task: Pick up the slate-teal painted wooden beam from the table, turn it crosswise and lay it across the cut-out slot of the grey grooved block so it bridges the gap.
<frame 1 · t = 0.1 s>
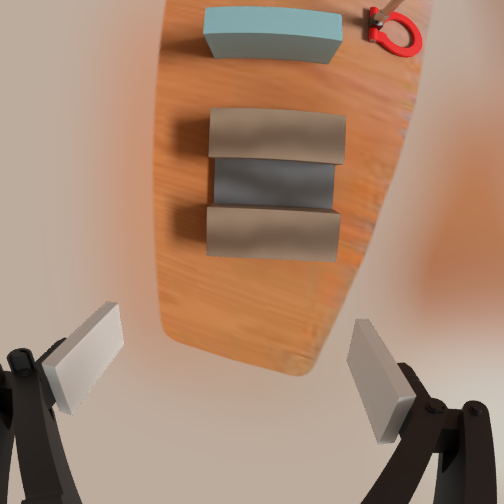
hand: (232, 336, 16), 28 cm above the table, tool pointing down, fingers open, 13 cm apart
tow hook: (394, 34, 34), on the table
grey grooved block: (274, 182, 41), on the table
teal beam: (272, 47, 36), on the table
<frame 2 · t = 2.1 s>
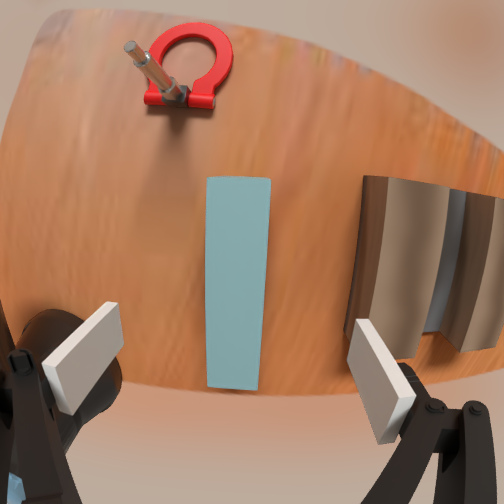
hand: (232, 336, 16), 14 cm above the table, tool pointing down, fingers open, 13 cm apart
tow hook: (188, 65, 25), on the table
grey grooved block: (430, 261, 29), on the table
teal beam: (242, 261, 29), on the table
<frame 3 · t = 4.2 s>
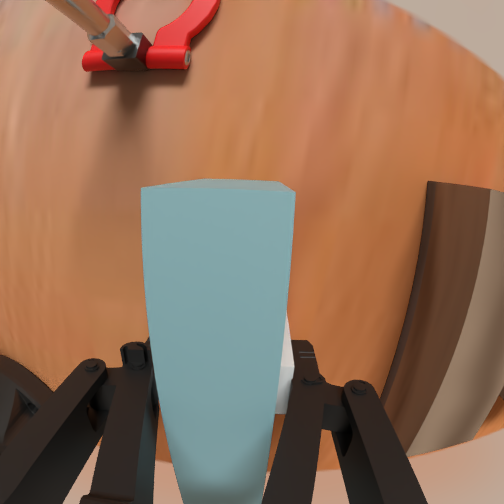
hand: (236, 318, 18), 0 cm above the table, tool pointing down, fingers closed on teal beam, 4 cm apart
tow hook: (154, 11, 14), on the table
grey grooved block: (498, 304, 17), on the table
teal beam: (236, 316, 18), on the table, touching gripper
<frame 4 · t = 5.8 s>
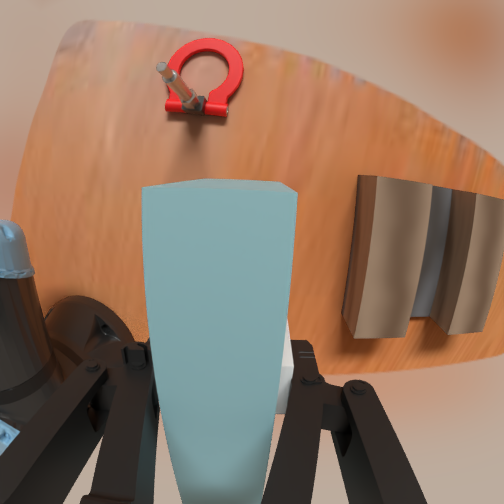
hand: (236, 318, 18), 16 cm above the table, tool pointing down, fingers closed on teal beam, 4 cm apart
tow hook: (204, 76, 29), on the table
grey grooved block: (419, 252, 33), on the table
teal beam: (236, 316, 18), point 16 cm above the table, touching gripper
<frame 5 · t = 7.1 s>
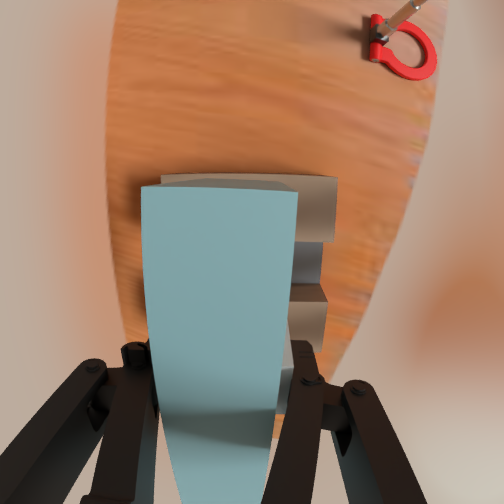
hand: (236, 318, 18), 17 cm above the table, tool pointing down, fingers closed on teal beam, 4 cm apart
tow hook: (402, 49, 27), on the table
grey grooved block: (249, 253, 35), on the table
teal beam: (236, 316, 18), point 17 cm above the table, touching gripper
when the fingers open (8 cm above the table, at t = 9.6 s): teal beam drops 1 cm, resting on grey grooved block.
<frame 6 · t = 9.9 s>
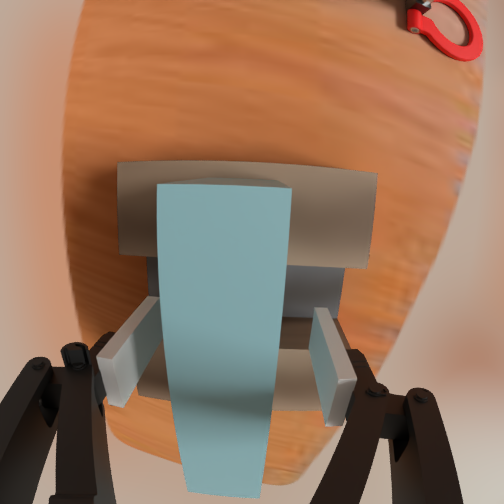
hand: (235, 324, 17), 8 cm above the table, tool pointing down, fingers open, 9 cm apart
tow hook: (443, 23, 19), on the table
grey grooved block: (244, 276, 25), on the table
teal beam: (238, 307, 19), point 6 cm above the table, touching grey grooved block
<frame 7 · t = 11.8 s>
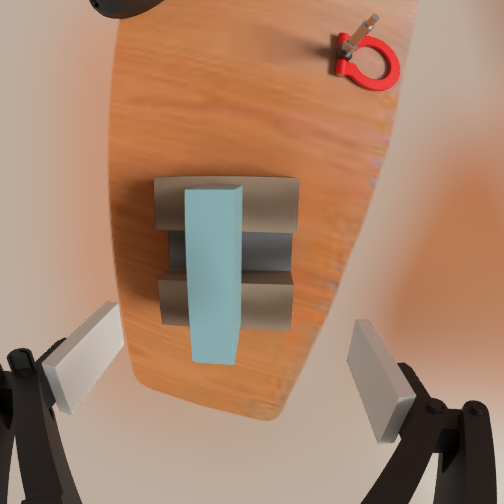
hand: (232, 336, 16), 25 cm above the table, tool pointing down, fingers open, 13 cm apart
tow hook: (367, 63, 34), on the table
grey grooved block: (229, 245, 40), on the table
teal beam: (223, 257, 35), point 6 cm above the table, touching grey grooved block
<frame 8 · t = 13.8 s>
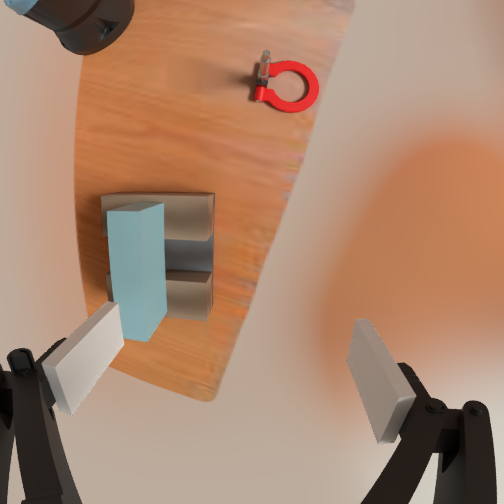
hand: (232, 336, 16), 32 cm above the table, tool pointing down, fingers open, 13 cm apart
tow hook: (287, 86, 41), on the table
grey grooved block: (164, 248, 48), on the table
teal beam: (151, 258, 42), point 6 cm above the table, touching grey grooved block
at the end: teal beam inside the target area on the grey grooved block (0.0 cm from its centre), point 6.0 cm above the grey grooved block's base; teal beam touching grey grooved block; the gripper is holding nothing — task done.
